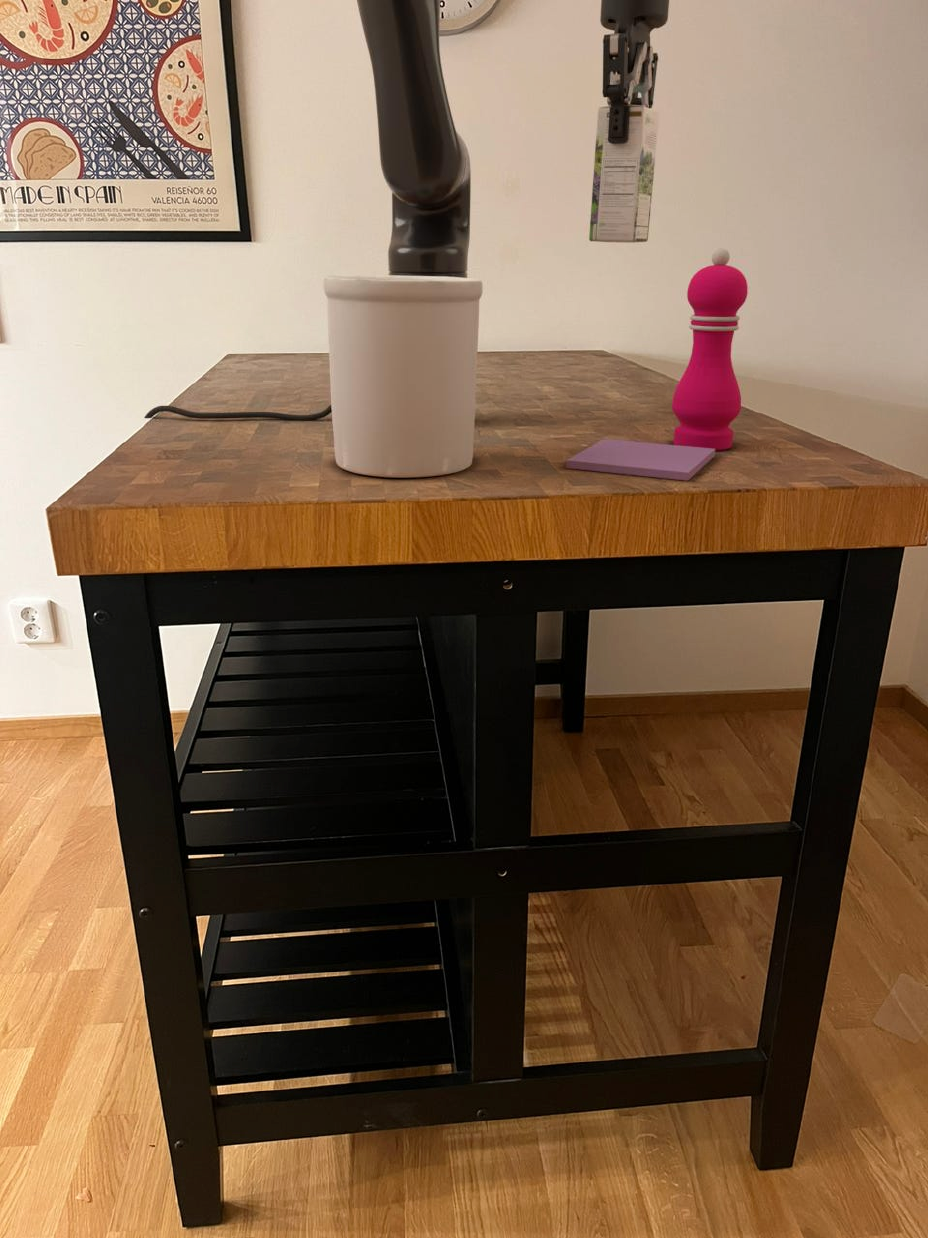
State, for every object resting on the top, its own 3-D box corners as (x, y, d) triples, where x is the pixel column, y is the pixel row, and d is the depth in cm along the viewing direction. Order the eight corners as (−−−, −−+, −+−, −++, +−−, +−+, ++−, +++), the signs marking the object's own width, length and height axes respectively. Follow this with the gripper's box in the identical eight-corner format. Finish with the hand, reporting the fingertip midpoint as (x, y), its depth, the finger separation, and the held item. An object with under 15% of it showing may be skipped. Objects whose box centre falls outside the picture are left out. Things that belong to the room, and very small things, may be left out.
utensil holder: (466, 446, 101) (467, 273, 94) (494, 477, 87) (497, 278, 81) (329, 450, 98) (320, 274, 92) (335, 483, 85) (325, 279, 78)
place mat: (565, 468, 91) (566, 459, 91) (603, 445, 101) (603, 438, 101) (687, 480, 86) (688, 472, 86) (714, 456, 96) (715, 448, 96)
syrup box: (604, 242, 117) (612, 111, 111) (649, 242, 114) (660, 108, 109) (588, 241, 112) (595, 105, 107) (635, 242, 109) (645, 102, 104)
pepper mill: (738, 453, 97) (761, 248, 90) (668, 450, 99) (685, 248, 91) (734, 440, 104) (755, 248, 96) (668, 437, 105) (684, 247, 98)
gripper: (622, -6, 110) (613, 152, 117) (583, -37, 98) (574, 141, 105) (685, -13, 107) (672, 150, 114) (652, -46, 95) (639, 138, 102)
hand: (625, 145), depth 109 cm, fingers closed on syrup box, 5 cm apart
